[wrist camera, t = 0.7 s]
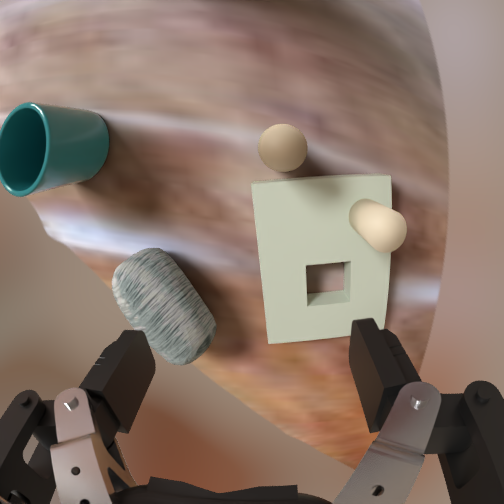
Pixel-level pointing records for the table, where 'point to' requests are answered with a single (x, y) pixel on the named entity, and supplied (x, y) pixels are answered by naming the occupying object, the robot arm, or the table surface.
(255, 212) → the seat board
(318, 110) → the table surface
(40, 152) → the cup
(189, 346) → the spool
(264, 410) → the table surface
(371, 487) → the robot arm
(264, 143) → the peg
